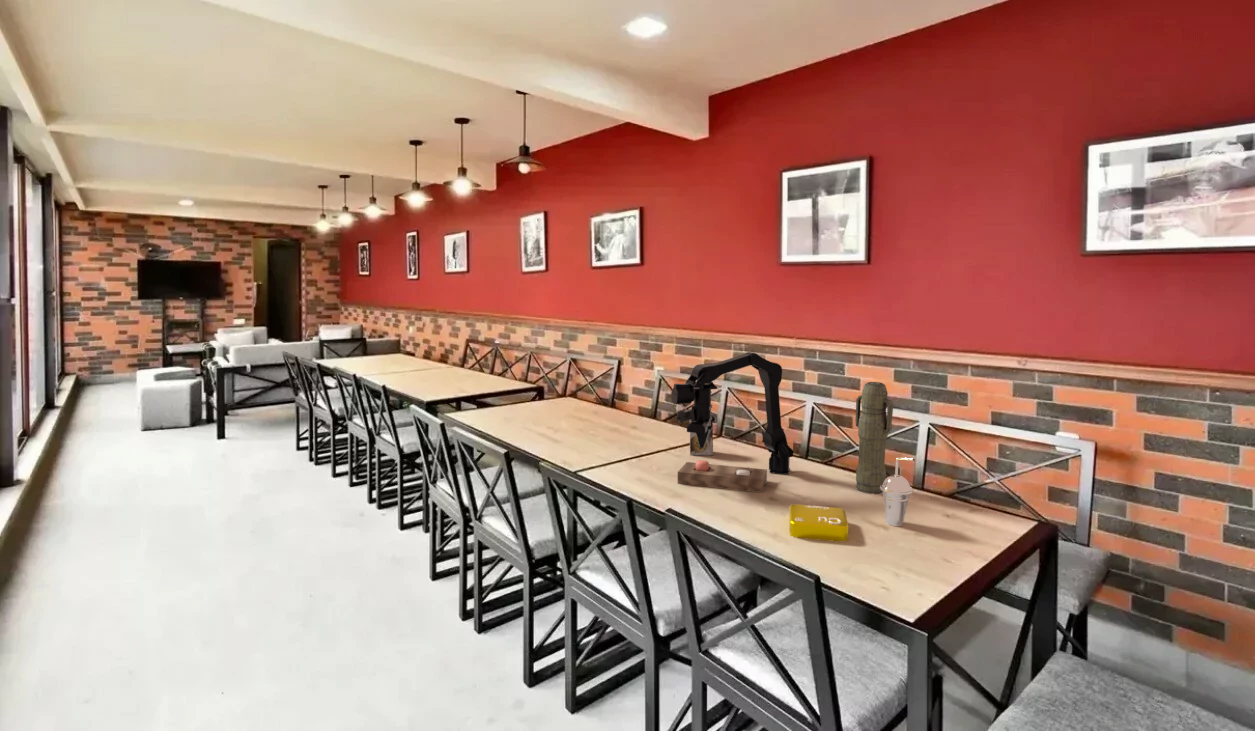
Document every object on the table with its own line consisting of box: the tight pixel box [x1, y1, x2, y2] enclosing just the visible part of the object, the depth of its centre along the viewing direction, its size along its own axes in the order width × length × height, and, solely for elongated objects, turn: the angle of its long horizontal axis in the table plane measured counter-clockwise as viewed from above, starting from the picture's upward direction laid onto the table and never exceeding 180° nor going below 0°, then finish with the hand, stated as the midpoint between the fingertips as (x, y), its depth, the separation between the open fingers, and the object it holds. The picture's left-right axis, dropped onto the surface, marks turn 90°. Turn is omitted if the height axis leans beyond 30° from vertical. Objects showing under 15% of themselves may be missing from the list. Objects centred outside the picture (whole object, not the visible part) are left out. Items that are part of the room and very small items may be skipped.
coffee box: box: [689, 411, 714, 456], centre depth 248 cm, size 9×6×16 cm
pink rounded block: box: [695, 460, 710, 472], centre depth 216 cm, size 4×4×4 cm
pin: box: [736, 470, 750, 476], centre depth 211 cm, size 4×4×4 cm
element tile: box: [788, 503, 849, 542], centre depth 174 cm, size 15×15×5 cm
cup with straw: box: [880, 456, 915, 527], centre depth 176 cm, size 8×9×20 cm
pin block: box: [677, 461, 768, 493], centre depth 214 cm, size 28×12×4 cm, turn 70°
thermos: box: [855, 381, 894, 495], centre depth 203 cm, size 9×12×35 cm
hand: (701, 447), depth 215 cm, fingers closed
